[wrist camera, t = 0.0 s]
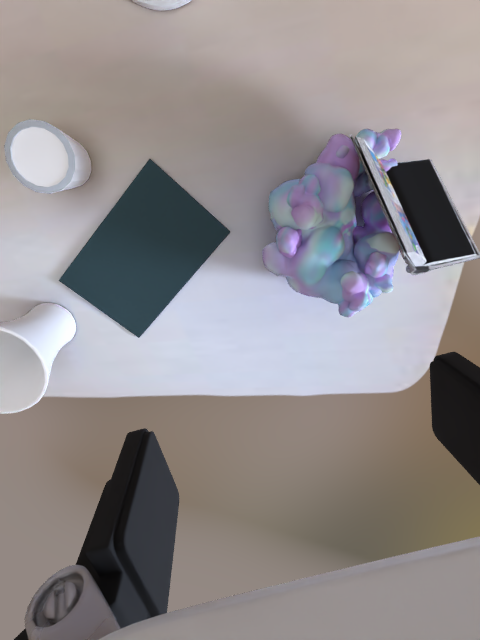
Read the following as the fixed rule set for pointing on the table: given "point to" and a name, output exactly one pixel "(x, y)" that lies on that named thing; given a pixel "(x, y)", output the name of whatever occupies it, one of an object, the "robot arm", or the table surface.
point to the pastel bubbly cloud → (379, 222)
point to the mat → (144, 250)
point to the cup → (31, 354)
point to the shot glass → (46, 157)
